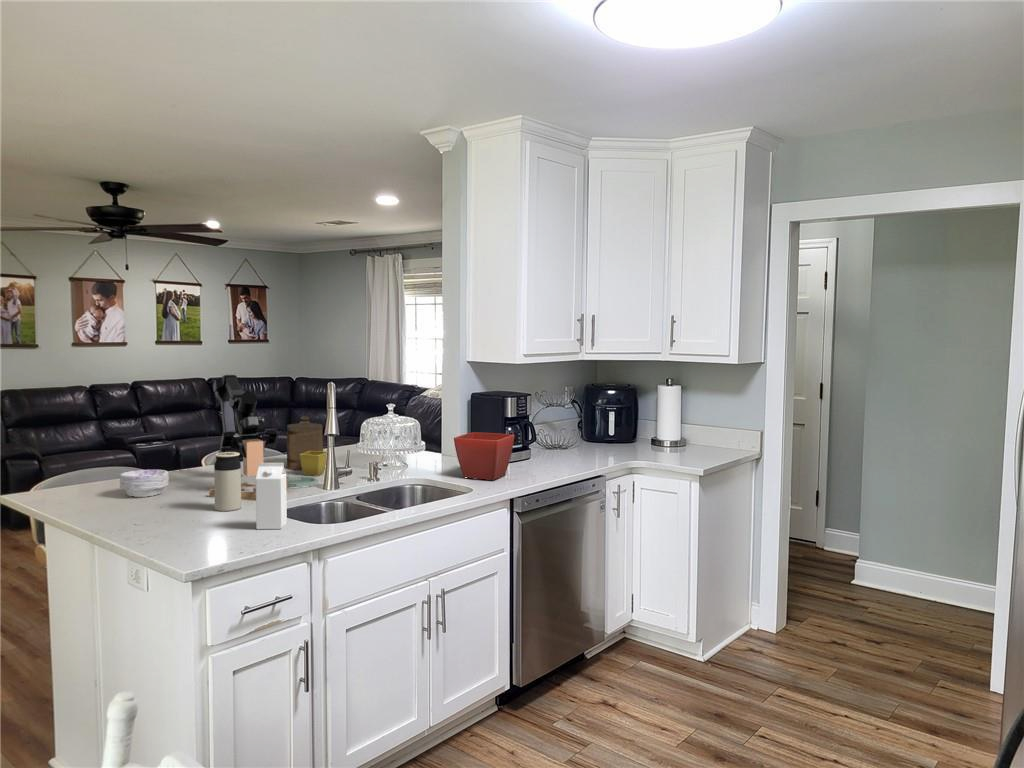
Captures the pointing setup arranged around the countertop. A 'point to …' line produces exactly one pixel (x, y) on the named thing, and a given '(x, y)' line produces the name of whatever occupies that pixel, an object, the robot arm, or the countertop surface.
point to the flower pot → (313, 462)
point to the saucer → (302, 481)
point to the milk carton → (271, 496)
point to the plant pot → (484, 454)
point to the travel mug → (227, 481)
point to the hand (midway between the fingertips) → (254, 456)
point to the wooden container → (302, 441)
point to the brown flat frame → (246, 494)
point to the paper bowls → (144, 482)
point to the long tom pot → (252, 456)
